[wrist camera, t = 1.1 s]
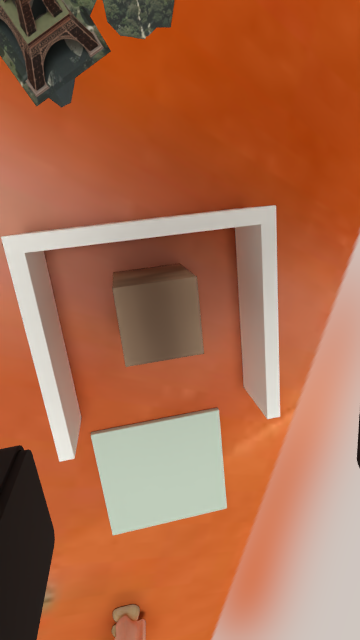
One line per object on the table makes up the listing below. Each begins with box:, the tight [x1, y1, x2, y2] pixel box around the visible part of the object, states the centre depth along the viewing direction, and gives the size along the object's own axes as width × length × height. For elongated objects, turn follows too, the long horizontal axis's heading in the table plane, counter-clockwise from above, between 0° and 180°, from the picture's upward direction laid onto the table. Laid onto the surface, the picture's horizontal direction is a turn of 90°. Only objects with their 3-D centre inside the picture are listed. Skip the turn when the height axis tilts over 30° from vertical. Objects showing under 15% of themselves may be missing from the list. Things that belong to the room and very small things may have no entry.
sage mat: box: [91, 408, 227, 535], centre depth 31 cm, size 11×11×1 cm
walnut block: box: [112, 264, 204, 367], centre depth 24 cm, size 5×5×6 cm
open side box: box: [1, 205, 280, 461], centre depth 24 cm, size 16×15×5 cm
